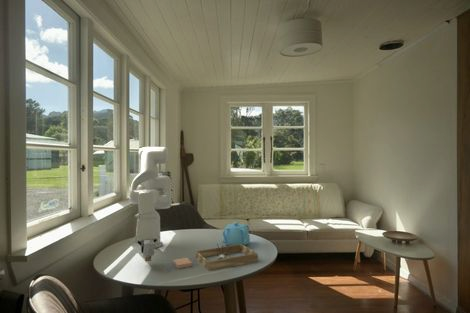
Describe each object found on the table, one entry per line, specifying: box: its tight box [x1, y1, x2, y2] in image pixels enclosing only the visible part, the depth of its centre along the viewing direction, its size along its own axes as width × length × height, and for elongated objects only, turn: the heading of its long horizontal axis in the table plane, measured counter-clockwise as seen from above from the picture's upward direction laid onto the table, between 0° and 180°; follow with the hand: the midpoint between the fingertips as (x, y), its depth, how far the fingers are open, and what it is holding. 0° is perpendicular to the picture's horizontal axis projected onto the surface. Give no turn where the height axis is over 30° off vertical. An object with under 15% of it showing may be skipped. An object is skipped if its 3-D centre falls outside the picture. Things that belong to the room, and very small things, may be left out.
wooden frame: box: [194, 244, 259, 271], centre depth 149 cm, size 19×27×4 cm
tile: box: [172, 257, 192, 269], centre depth 142 cm, size 2×7×8 cm
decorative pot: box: [221, 221, 251, 246], centre depth 175 cm, size 16×16×14 cm
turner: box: [142, 242, 156, 262], centre depth 142 cm, size 11×5×8 cm
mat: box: [160, 257, 200, 273], centre depth 142 cm, size 12×16×1 cm
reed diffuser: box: [216, 243, 227, 260], centre depth 150 cm, size 10×7×20 cm
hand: (147, 253), depth 143 cm, fingers closed on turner, 2 cm apart
